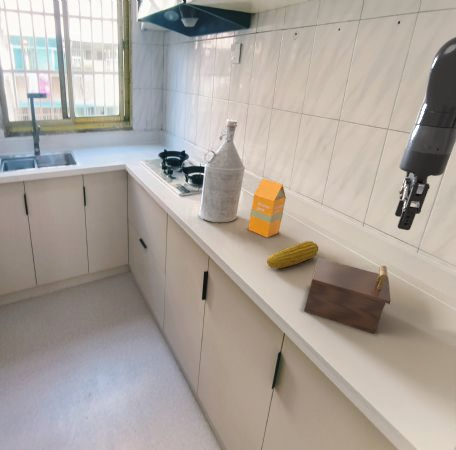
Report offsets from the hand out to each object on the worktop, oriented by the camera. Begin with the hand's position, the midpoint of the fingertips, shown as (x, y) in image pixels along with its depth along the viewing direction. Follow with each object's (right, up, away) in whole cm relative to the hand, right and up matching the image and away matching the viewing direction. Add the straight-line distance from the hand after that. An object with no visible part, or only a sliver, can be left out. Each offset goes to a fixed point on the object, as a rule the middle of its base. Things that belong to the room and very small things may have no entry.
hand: (401, 222), depth 75 cm
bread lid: (-6, -14, +10) cm, 18 cm away
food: (-10, -13, +35) cm, 38 cm away
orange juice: (-13, -3, +57) cm, 58 cm away
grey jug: (-28, +3, +68) cm, 74 cm away
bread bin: (-7, -22, +13) cm, 27 cm away
